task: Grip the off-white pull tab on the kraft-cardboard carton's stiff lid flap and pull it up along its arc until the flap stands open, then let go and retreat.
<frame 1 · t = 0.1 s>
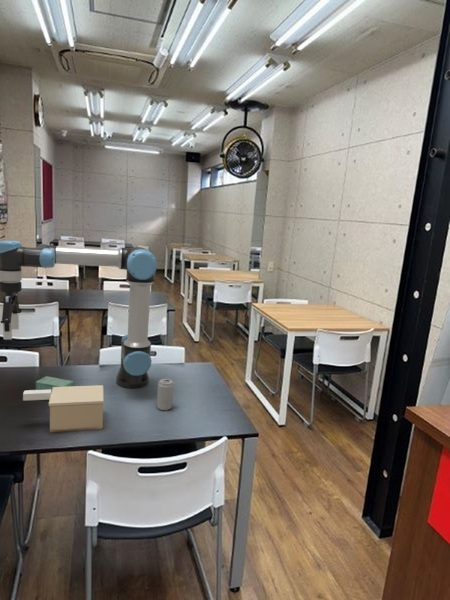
hand: (11, 334, 159), 28 cm above the table, fingers open, 13 cm apart
box: (55, 398, 170), on the table
beverage can: (164, 408, 169), on the table
carton: (77, 421, 152), on the table
lid: (64, 393, 149), point 11 cm above the table, hinge at 0.0°
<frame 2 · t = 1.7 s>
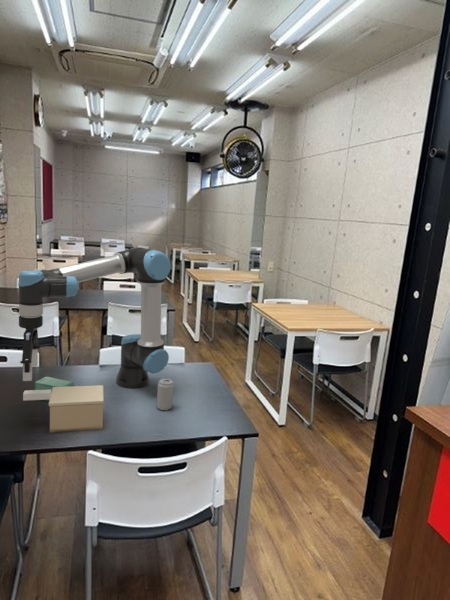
hand: (30, 373, 143), 20 cm above the table, fingers open, 13 cm apart
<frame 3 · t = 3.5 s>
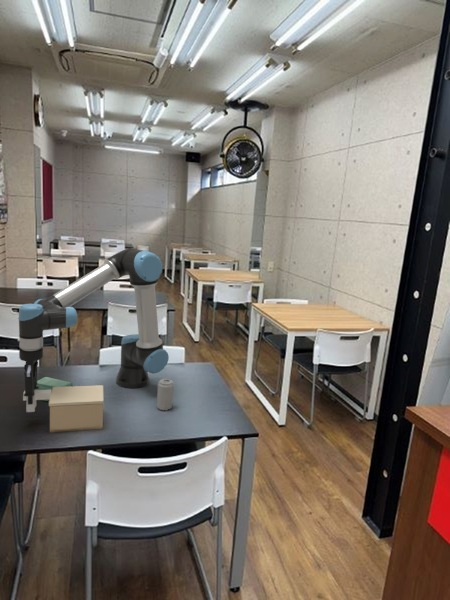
hand: (31, 408, 146), 6 cm above the table, fingers closed on lid, 3 cm apart
lid: (64, 393, 149), point 11 cm above the table, hinge at 0.0°, touching gripper
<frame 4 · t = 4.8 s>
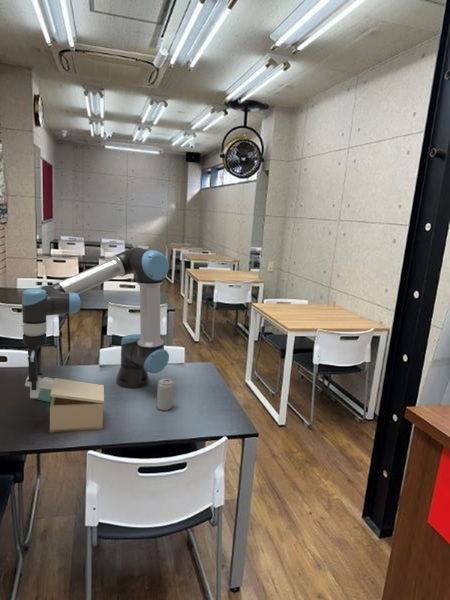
hand: (35, 395, 146), 11 cm above the table, fingers closed on lid, 3 cm apart
lid: (66, 386, 148), point 14 cm above the table, hinge at 11.7°, touching gripper
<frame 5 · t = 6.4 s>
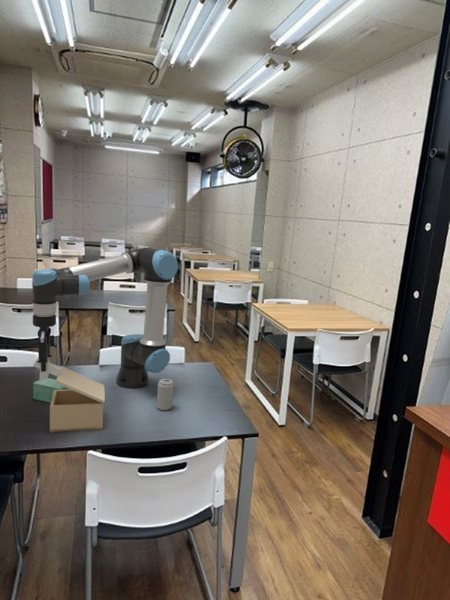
hand: (44, 376, 145), 18 cm above the table, fingers closed on lid, 3 cm apart
lid: (71, 377, 148), point 18 cm above the table, hinge at 28.4°, touching gripper
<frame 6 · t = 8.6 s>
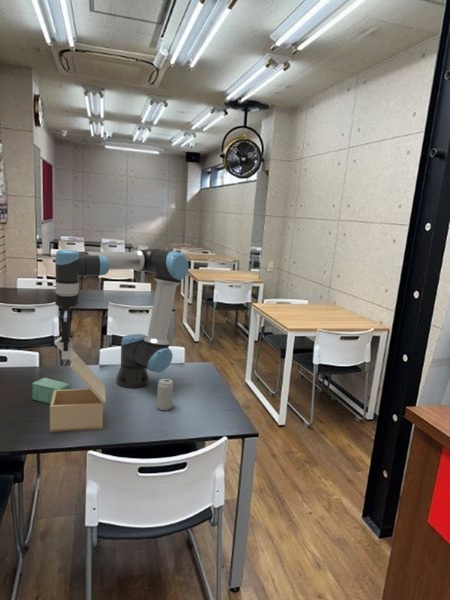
hand: (66, 357, 146), 26 cm above the table, fingers open, 3 cm apart
lid: (82, 367, 148), point 22 cm above the table, hinge at 51.2°
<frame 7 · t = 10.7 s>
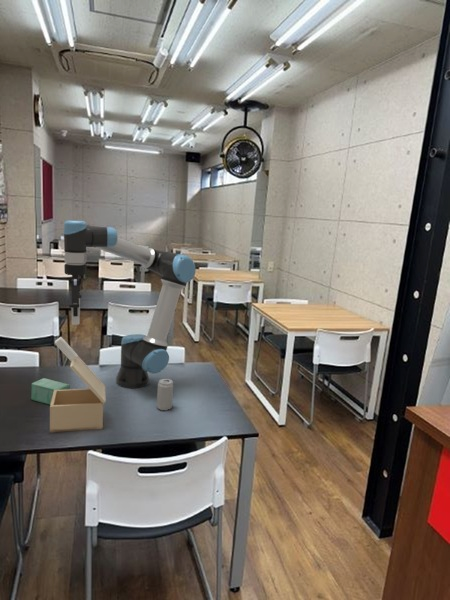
hand: (75, 319, 151), 38 cm above the table, fingers open, 13 cm apart
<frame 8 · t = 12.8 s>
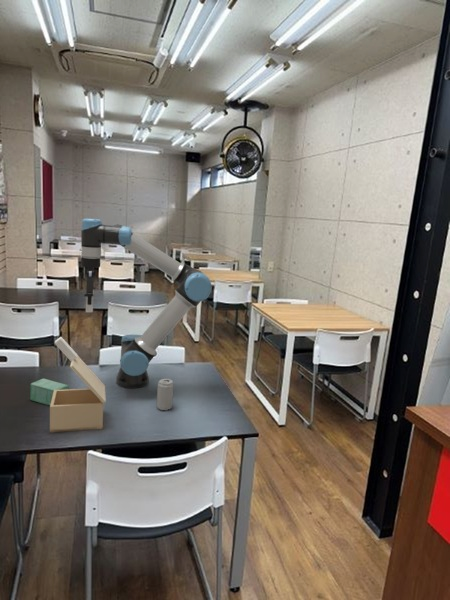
hand: (89, 308, 167), 39 cm above the table, fingers open, 13 cm apart
at the end: lid at +51° (first picture: +0°); the gripper is holding nothing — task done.
